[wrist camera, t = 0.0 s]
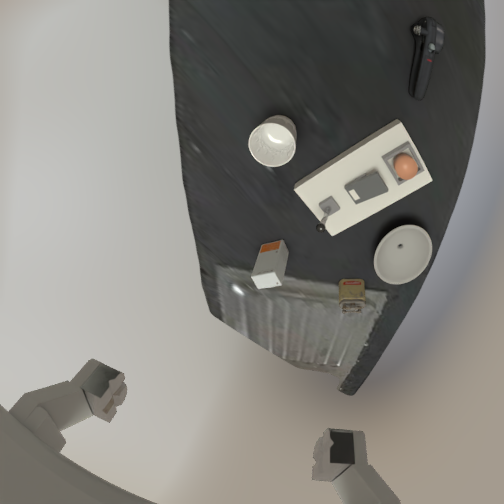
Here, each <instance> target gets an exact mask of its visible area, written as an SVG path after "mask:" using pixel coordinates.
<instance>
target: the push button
mask: <svg viewBox="0 0 504 504" xmlns="http://www.w3.org/2000/svg"><path fill="white" fill-rule="evenodd" d="M393 166H394V169H395V171H396V173H397V174H398V176H399V177H400V178H402V179H404V180H409V179H412V178H413V177H415V175H416V174H417V171H418V166H417V163H416V162H415V161H414V159H413V158H412V157H411V156H410V155H408V154H405V153H403V154H399V155H398V156H397V157H396V158H395V159H394V162H393Z"/></svg>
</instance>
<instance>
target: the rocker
mask: <svg viewBox="0 0 504 504" xmlns="http://www.w3.org/2000/svg"><path fill="white" fill-rule="evenodd" d="M344 188H345V190H346V191H347V193H348V194H349V195H350V197H351V198H352V200H353V201H354V202H355V204H359V203H361V202H364V201H366V200H369V199H371V198H374V197H376V196H379V195H381V194H384V193H386V192H388V187H387V186H386V184H385V182H384V181H383V179H382V178H381V176H380V174H379V173H378V171H376V172H374V173H372V174H369V175H367V176H365V177H363V178H360V179H358V180H356V181H354V182H351V183H349V184H347V185H345V187H344Z"/></svg>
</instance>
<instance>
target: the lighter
mask: <svg viewBox="0 0 504 504" xmlns="http://www.w3.org/2000/svg"><path fill="white" fill-rule="evenodd" d="M365 302H366V300H365V288H364V281H363V280H362V279H342V280H340V282H339V307H340V308H341V309H343V310H342V313H343V314H345V313H347V312H356V313H361V309H363V308H364V307H365V305H366V304H365ZM356 309H358V311H355V310H356ZM346 310H351V311H346Z"/></svg>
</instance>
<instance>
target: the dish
mask: <svg viewBox="0 0 504 504" xmlns="http://www.w3.org/2000/svg"><path fill="white" fill-rule="evenodd" d="M399 244H402V245H401V246H398V245H399ZM431 254H432V243H431V239H430V236H429V235H428V233H427V232H426V231H425V230H424V229H423V228H421V227H419V226H416V225H403V226H400V227H397V228H395V229H393V230H392V231H390V232H389V233H388V234H387V235H386V236H385V237H384V238H383V239H382V240H381V242H380V243H379V245H378V247H377V249H376V252H375V256H374V267H375V271H376V273H377V275H378V276H379V277H380V278H381V279H382V280H383V281H385V282H387V283H390V284H403V283H406V282H409V281H411V280H413V279H414V278H416V277H417V276H418V275H420V274H421V273H422V271H423V270H424V269H425V268H426V266H427V264H428V263H429V260H430V257H431Z"/></svg>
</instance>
